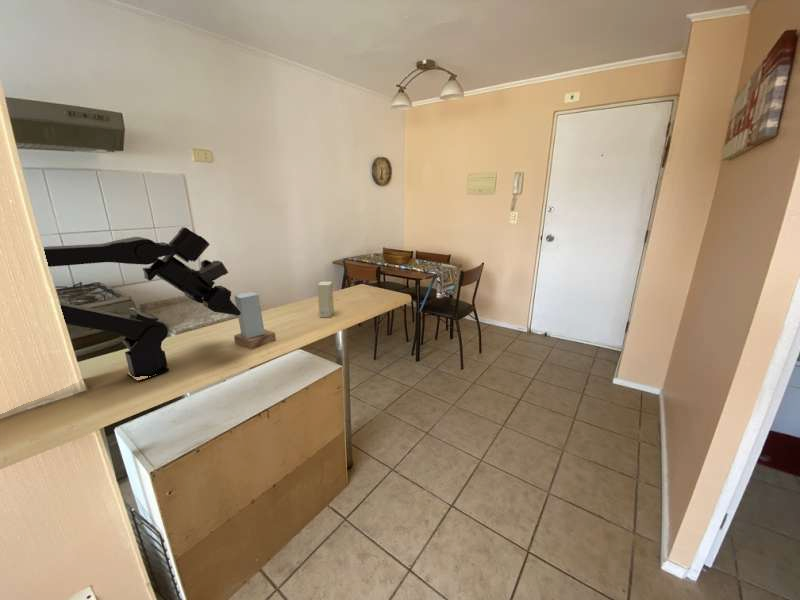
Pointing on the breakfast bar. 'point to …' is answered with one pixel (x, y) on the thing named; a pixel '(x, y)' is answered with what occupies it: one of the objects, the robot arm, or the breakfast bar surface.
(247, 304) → the pillar
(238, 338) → the walnut block
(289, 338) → the breakfast bar surface
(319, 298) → the skincare box
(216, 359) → the breakfast bar surface
